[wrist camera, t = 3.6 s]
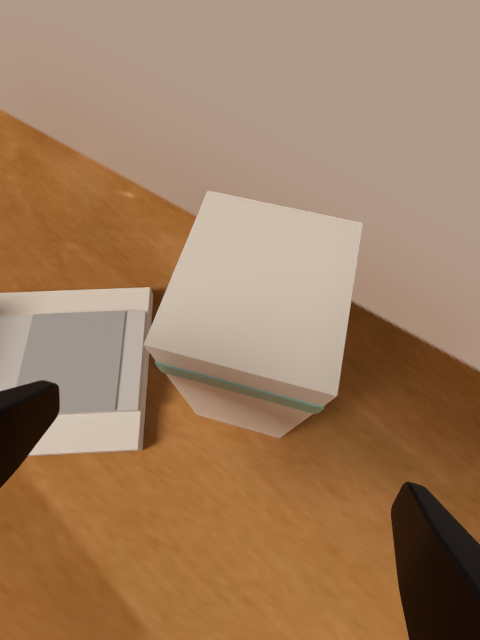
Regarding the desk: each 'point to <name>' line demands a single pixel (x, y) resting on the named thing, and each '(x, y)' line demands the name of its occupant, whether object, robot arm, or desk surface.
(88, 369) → the rail board
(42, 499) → the desk surface
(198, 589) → the desk surface
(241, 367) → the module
